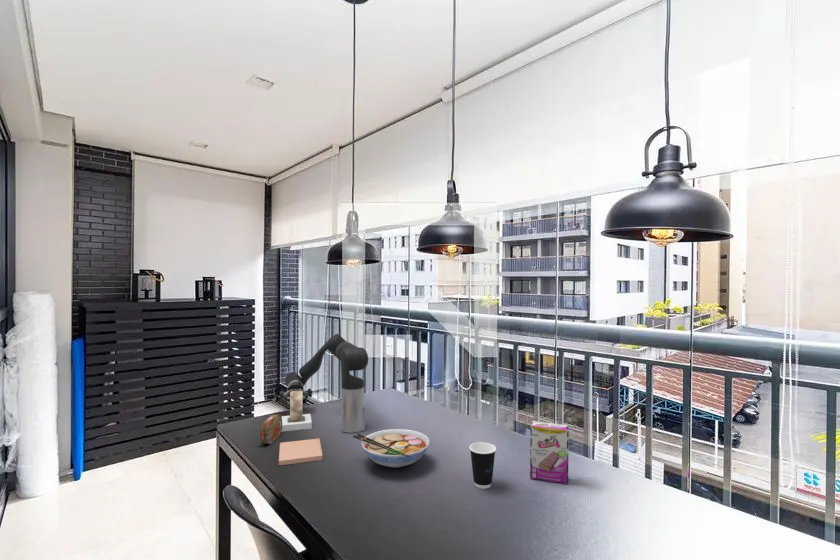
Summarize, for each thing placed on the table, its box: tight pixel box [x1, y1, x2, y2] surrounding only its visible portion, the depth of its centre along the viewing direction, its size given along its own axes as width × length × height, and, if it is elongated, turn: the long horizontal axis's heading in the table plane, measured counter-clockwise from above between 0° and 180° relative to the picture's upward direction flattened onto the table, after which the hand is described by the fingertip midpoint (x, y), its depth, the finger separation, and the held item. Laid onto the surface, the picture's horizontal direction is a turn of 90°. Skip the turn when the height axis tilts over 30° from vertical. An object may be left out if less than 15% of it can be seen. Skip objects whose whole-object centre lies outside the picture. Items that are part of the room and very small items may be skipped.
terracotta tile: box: [278, 438, 324, 466], centre depth 143 cm, size 14×16×2 cm
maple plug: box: [289, 391, 304, 423], centre depth 171 cm, size 5×5×14 cm
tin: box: [259, 414, 282, 445], centre depth 156 cm, size 15×3×8 cm, turn 177°
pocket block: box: [281, 413, 313, 433], centre depth 171 cm, size 12×12×2 cm
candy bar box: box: [529, 420, 570, 485], centre depth 124 cm, size 11×5×16 cm, turn 71°
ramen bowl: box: [352, 428, 431, 469], centre depth 135 cm, size 25×23×8 cm
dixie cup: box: [469, 441, 497, 490], centre depth 120 cm, size 8×8×11 cm
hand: (296, 398), depth 182 cm, fingers open, 8 cm apart
